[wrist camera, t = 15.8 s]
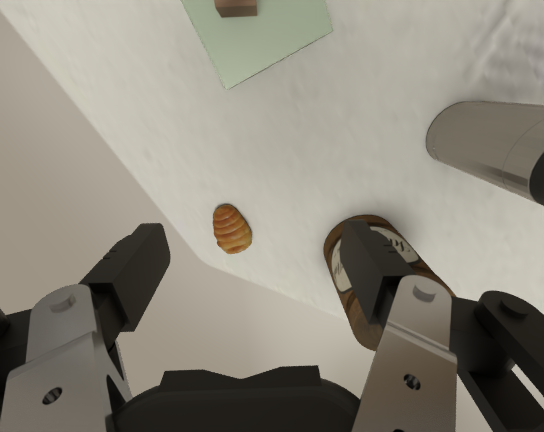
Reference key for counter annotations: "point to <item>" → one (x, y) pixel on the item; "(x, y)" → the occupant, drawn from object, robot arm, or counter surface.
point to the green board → (257, 34)
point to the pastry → (231, 230)
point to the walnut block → (236, 8)
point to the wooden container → (356, 317)
